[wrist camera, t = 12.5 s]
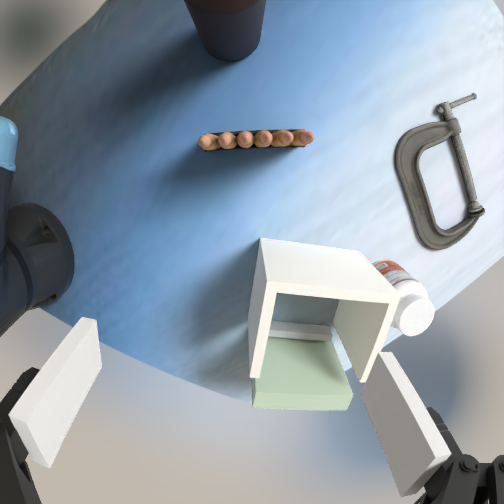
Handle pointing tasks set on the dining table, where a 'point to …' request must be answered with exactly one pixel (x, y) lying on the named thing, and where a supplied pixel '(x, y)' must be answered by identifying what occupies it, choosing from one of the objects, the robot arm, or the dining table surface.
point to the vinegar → (228, 26)
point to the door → (301, 377)
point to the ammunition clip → (255, 139)
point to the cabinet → (321, 285)
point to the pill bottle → (407, 299)
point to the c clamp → (414, 185)
